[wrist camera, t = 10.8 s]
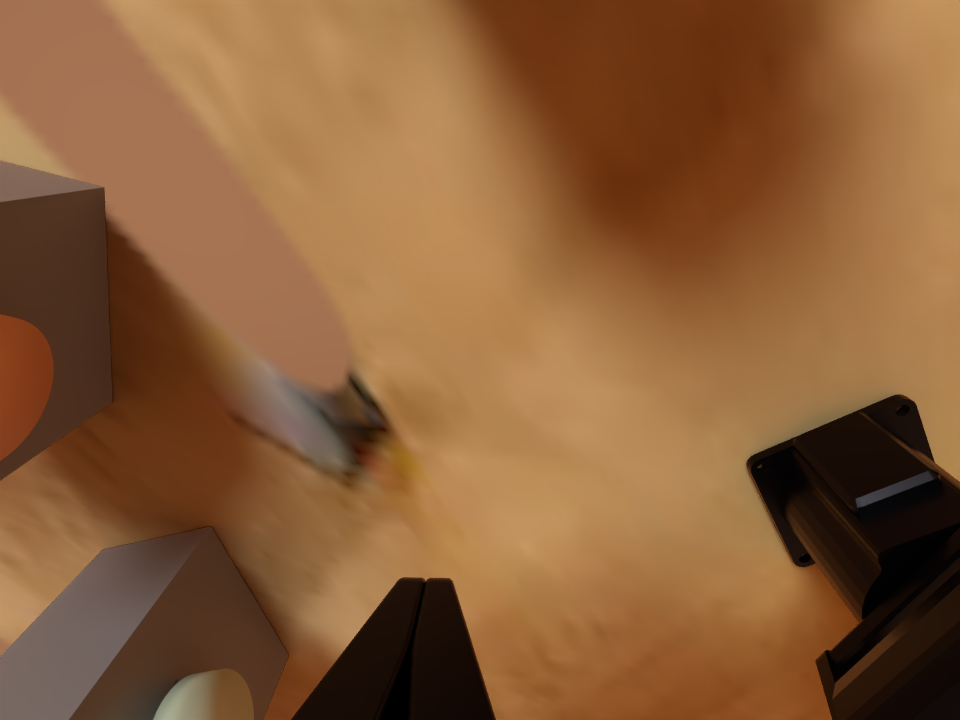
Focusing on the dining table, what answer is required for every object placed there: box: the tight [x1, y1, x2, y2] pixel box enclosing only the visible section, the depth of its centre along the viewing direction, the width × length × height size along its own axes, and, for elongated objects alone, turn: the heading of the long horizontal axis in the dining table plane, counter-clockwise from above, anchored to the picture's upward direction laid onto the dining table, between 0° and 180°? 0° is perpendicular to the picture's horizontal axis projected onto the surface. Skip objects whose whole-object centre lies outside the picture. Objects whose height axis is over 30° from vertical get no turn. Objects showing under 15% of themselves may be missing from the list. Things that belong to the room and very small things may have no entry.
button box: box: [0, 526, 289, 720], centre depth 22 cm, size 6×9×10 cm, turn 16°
